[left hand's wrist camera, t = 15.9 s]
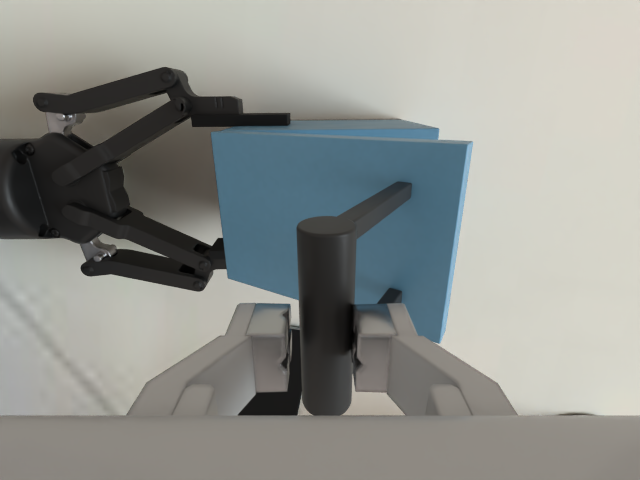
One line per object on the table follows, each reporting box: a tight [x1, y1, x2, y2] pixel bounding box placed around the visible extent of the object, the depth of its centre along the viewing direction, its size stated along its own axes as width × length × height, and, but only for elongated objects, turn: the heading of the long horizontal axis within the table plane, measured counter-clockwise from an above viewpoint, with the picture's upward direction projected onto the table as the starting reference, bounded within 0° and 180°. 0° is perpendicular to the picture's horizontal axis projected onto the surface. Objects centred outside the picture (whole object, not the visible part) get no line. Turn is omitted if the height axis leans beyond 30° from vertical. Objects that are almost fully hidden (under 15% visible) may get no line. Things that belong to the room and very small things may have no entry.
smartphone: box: [237, 326, 302, 416], centre depth 41 cm, size 7×1×15 cm
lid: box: [211, 131, 473, 416], centre depth 16 cm, size 14×9×9 cm
